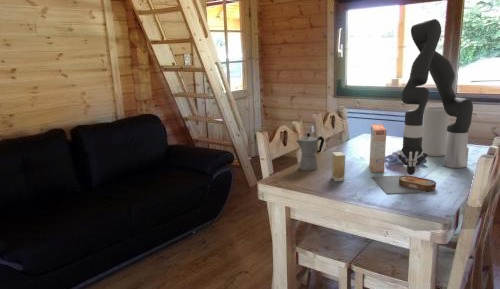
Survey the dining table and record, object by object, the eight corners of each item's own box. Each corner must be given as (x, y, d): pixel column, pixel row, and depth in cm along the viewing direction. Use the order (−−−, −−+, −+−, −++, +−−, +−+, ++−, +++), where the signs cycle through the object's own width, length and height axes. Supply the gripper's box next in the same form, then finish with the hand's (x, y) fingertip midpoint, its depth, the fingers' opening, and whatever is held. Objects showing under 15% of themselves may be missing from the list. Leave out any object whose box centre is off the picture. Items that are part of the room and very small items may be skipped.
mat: (406, 176, 182) (406, 175, 182) (426, 192, 161) (426, 192, 161) (371, 177, 183) (371, 176, 183) (387, 194, 161) (387, 193, 161)
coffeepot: (301, 172, 194) (300, 136, 190) (292, 167, 203) (292, 132, 198) (328, 168, 199) (329, 133, 195) (319, 163, 208) (319, 129, 203)
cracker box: (385, 173, 188) (386, 129, 183) (371, 172, 189) (373, 129, 184) (381, 164, 201) (383, 124, 196) (369, 164, 203) (370, 124, 198)
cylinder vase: (442, 150, 222) (446, 106, 216) (449, 156, 210) (453, 110, 204) (418, 150, 224) (421, 106, 218) (424, 156, 212) (427, 110, 206)
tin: (439, 181, 165) (431, 185, 159) (438, 188, 166) (430, 192, 160) (404, 174, 176) (395, 177, 170) (403, 181, 176) (395, 184, 170)
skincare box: (331, 177, 185) (331, 151, 182) (340, 176, 185) (340, 151, 182) (335, 181, 179) (335, 155, 176) (344, 181, 179) (345, 154, 176)
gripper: (424, 132, 170) (422, 171, 174) (394, 133, 170) (392, 172, 174) (432, 136, 163) (429, 176, 167) (400, 137, 163) (398, 177, 167)
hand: (410, 174), depth 171 cm, fingers closed
